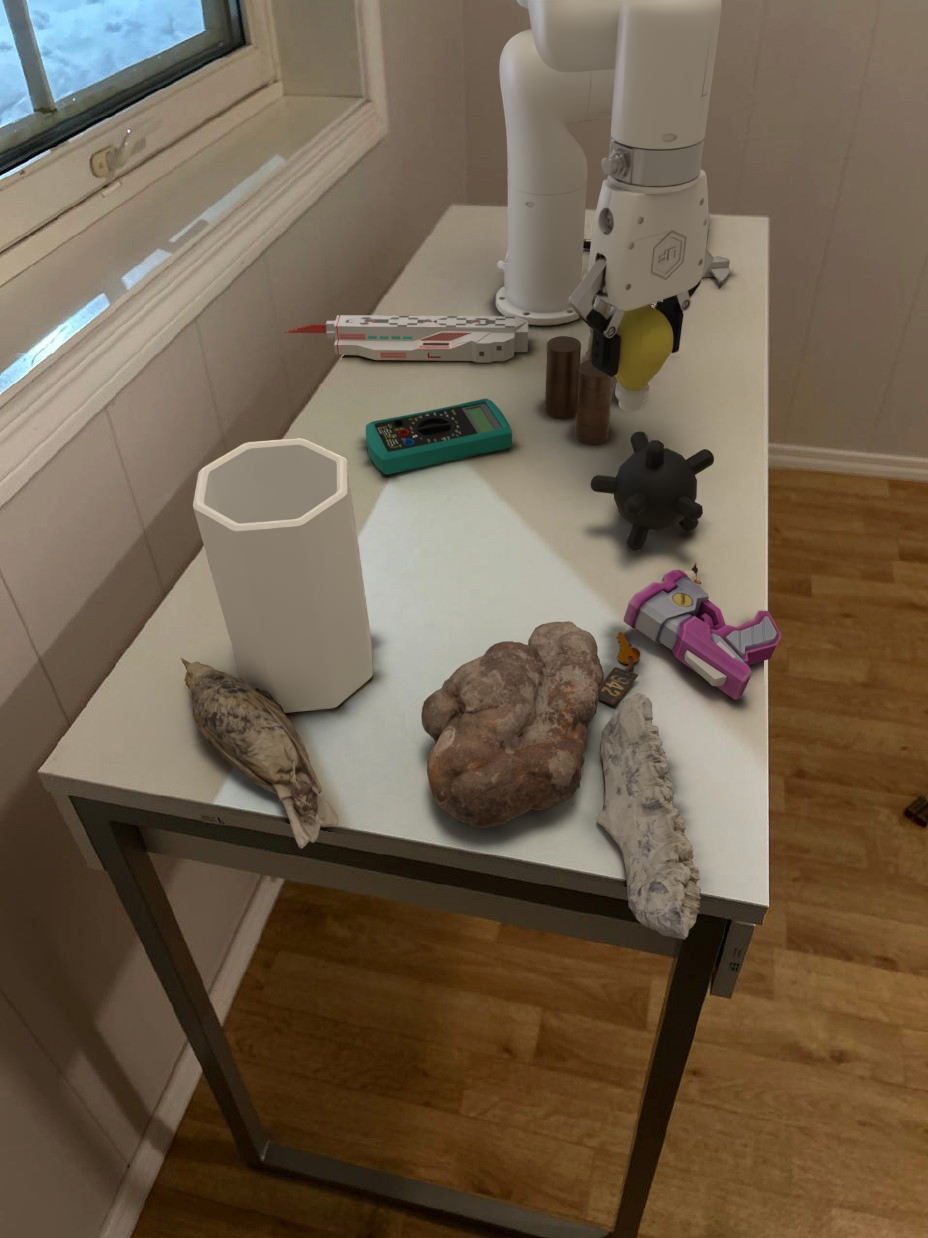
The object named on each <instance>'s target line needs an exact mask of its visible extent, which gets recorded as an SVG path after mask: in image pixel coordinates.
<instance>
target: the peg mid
mask: <svg viewBox="0 0 928 1238" xmlns="http://www.w3.org/2000/svg"><path fill="white" fill-rule="evenodd" d="M614 377H615V376H612V377H610V376H608V375H607V374H605V373H604V372H602V371H601V370H599V369H597V368H596V367H594V366H593V365H592V363H591V360H588V361H585V360H584V361H583V362H580V365H579V369H578V386H577V404H576V414H575V421H574V422H575V423H574V438H575V439H576V440H577V441H578V442H579V443H582V444H585V445H592V446H593V445H599V444H600V445H601V444H603V443H604V442H606V441H608V439H609V436H610V435H609V434H610V421H611V410H612V400H613V399H612V398H613V387H614Z"/></svg>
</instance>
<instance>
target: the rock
mask: <svg viewBox="0 0 928 1238" xmlns="http://www.w3.org/2000/svg"><path fill="white" fill-rule="evenodd" d="M598 648H599V647H598V644H597V641H596V638H595V636H594V635H593V634H592V633H591V632H590V631H588V630H584V629H582V628H580V627H578V626H577V625H576V624H575V623H573V622H572V621H571V620H570V621H552V622H546V623H542V624H540V625H538V626H536V627H535V628H534V629H533V631H532V633H531V635H530V637H529V638H528V641H527V644H525V643H523V642H520V641H519V642H518V641H511V640H510V641H501V642H497V643H494V644H492V645H491V646H490V647H489V648H488V649H487V650H486V651H485V653H484V654H483V655H481V656H479V657H476V658H474V659H472V660H470V661H468V662H466V663H464V664H462V665H461V666H459V667H458V668H457V669H455V670H454V672H453V673H452V674H451V675H450V676H449V678H447V679H445V680H444V682H443V684H442V685H441V688H439V689H437V690H435V691H434V692H433V693H432V694H430V695H429V696H428V697H426V699H424V701H423V703H422V706H421V725H422V728H423V730H424V731H425V733H426V734H427V735H429V736H430V738H432V739H433V741H434V742H435V744H434V745H433V747H432V748H431V750H430V752H429V754H428V756H427V761H426V765H427V766H426V772H427V773H426V775H427V779H428V784H429V785H428V786H429V790H430V793H431V795H432V798H433V799H434V802H435V804H436V806H437V807H438V808H439V809H441V810H444V811H445V812H446V813H447V814H449V815H450V816H451V817H453V818H454V819H455V820H457V821H460V822H462V823H464V824H465V825H467V826H470V827H473V828H477V829H490V828H493V827H499V826H502V825H503V824H505V823H508V822H509V821H511V820H512V819H513V818H515V819H516V818H517V817H520V816H523V815H524V814H526V813H528V812H529V811H531V810H537V811H544V810H547V809H553V808H555V807H557V806H559V805H560V804H563V803H565V802H567V801H569V800H570V799H572V798H573V797H574V796H575V794H576V793H577V791H578V789H579V788H581V781H582V769H583V766H584V764H585V756H584V755H585V754H586V752H587V748H588V745H589V744H588V743H589V723H590V722H591V721H592V720H593V718H594V717H595V716H596V714H597V711H598V710H597V709H598V706H599V701H600V700H599V690H598V687H599V686H600V685H601V684H602V682H603V681H604V680H605V674H604V669H603V665H602V664H601V660H600V657H599V655H598V650H599V649H598Z"/></svg>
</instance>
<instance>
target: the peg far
mask: <svg viewBox="0 0 928 1238" xmlns="http://www.w3.org/2000/svg"><path fill="white" fill-rule="evenodd" d="M581 352H582V342H581V341H580V340H579V339H578V338H577V337H574V336H570V335H559V336H554V337H552V338H550V339H549V340H548V341H547V342H546V362H545V363H546V364H545V365H546V366H545V396H544V397H545V398H544V411H545V413H546V415H548V416H550V417H551V418H554V419H569V418H572V417H573V416H576V404H577V386H578V369H579V365H580V364H581V355H582V354H581Z"/></svg>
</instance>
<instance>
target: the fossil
mask: <svg viewBox="0 0 928 1238" xmlns="http://www.w3.org/2000/svg"><path fill="white" fill-rule="evenodd" d="M653 721H654V716H653V703H652V701H651V698H649V697H648V696H647V695H646V694H643V693H641V692H638V693H635V694H633V695H631V696H629V697H628V698H625V699H623V700H622V704H621V705H620V706H619V708H617V709H616V711H614V712H613V714H612V716H611V717H610V719H609V720H608V721H607V723H606V724H605V726H604V728H603V730H602V732H601V745H600V750H599V754H600V758H601V761H602V765H603V766H602V767H603V768H602V770H603V777H604V784H605V785H604V787H605V788H604V790H605V791H604V792H605V793H604V794H605V795H604V796H605V797H604V803H603V807H602V809H601V811H600V813H599V815H598V816H597V817H596V822H597V823H598V824H599V825H600V826H602V827H603V828H604V830H605V831H606V832H607V833H608V834H609V835H610V836H611V838H612V840H613V841H615V842H616V844H617V845H618V847H619V849H620V850H621V852H622V854H623V862H624V866H625V870H626V880H625V881H626V887H627V893H626V896H627V901H628V902H627V903H628V908H629V909H630V911H631V912H632V914H633V916H634V917H635V918H636V920H637V921H638V922H639V923H640V924H641V925H643V926H644V927H647V928H648V929H651V930H653V931H656V932H658V933H659V934H660V935H661V936H664V937H666V938H676V939H679V940H683V941H684V940H686V939H687V938H688V936H689V933H690V930H691V929H692V928H693V927H694V925H695V924H696V922H697V916H698V914H699V913H700V911H699V909H700V907H701V899H702V896H701V892H702V888H701V887H700V886H699V885H698V884H697V882H698V881H700V875H699V873H700V870H699V867H698V866H694V861H693V858H694V850H695V848H694V847H693V844H692V841H690V839H688V837H687V836H686V833H685V832H686V831H685V830H686V827H685V819H684V817H683V816H682V815H681V813H680V810H679V808H677V807H674V804H673V798H674V795H675V792H674V790H675V788H676V782H675V781H674V779H673V778H672V777H671V776H670V775H669V774H670V770H671V769H670V766H669V763H668V760H667V754H666V751H665V749H664V748H663V747H661V746H663V743H664V742H663V739H662V738H661V737H660V734H659V732H660V731H659V729H660V728H659V726H657V725H653Z"/></svg>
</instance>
